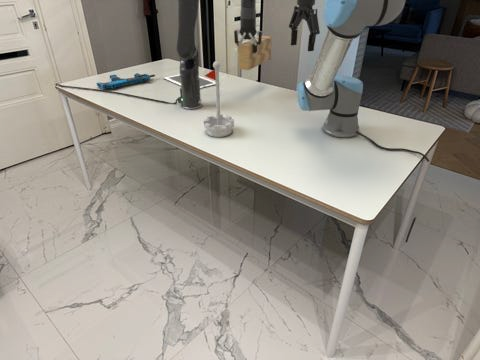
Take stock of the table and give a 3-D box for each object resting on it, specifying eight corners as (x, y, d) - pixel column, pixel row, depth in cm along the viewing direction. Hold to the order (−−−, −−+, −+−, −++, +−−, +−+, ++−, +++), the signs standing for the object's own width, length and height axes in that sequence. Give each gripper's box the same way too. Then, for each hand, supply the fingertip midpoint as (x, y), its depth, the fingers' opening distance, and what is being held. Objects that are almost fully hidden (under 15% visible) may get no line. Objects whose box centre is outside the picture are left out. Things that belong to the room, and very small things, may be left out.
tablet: (163, 78, 216) (163, 77, 215) (189, 72, 227) (189, 71, 226) (191, 90, 195) (191, 90, 195) (219, 83, 206) (219, 83, 206)
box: (261, 57, 194) (262, 35, 188) (271, 59, 192) (271, 36, 185) (238, 68, 176) (238, 44, 169) (248, 70, 173) (248, 45, 167)
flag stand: (228, 123, 156) (226, 56, 140) (238, 135, 146) (237, 63, 130) (200, 127, 152) (195, 59, 136) (209, 140, 142) (205, 67, 126)
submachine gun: (140, 68, 226) (159, 74, 209) (142, 73, 228) (160, 80, 211) (89, 77, 207) (104, 85, 190) (90, 84, 209) (106, 92, 192)
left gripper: (232, 17, 163) (232, 53, 172) (261, 18, 160) (260, 55, 169) (235, 15, 169) (235, 50, 178) (264, 16, 166) (262, 51, 175)
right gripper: (283, -8, 150) (280, 43, 161) (317, -3, 131) (311, 54, 142) (297, -8, 152) (293, 42, 164) (332, -4, 133) (325, 52, 145)
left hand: (247, 52), depth 173 cm, fingers closed on box, 7 cm apart
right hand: (301, 48), depth 153 cm, fingers open, 13 cm apart
